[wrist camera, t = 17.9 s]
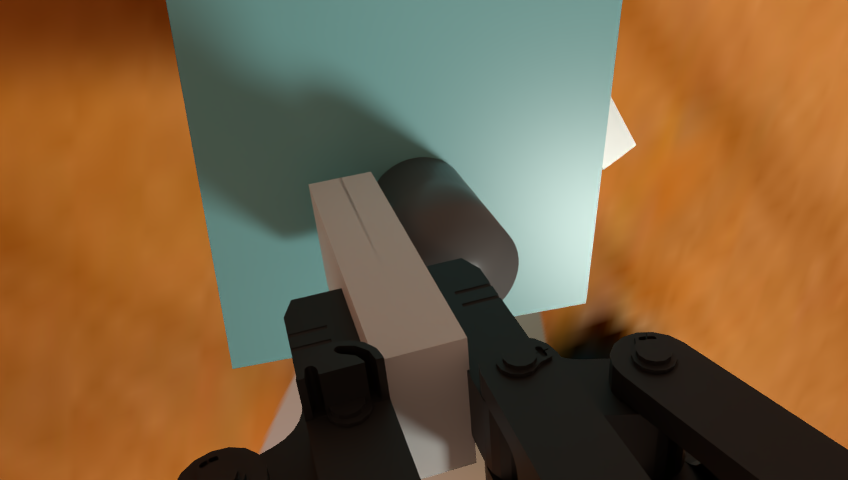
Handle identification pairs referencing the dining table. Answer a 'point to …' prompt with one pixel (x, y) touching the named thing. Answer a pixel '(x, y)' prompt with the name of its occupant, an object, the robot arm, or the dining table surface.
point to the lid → (396, 139)
